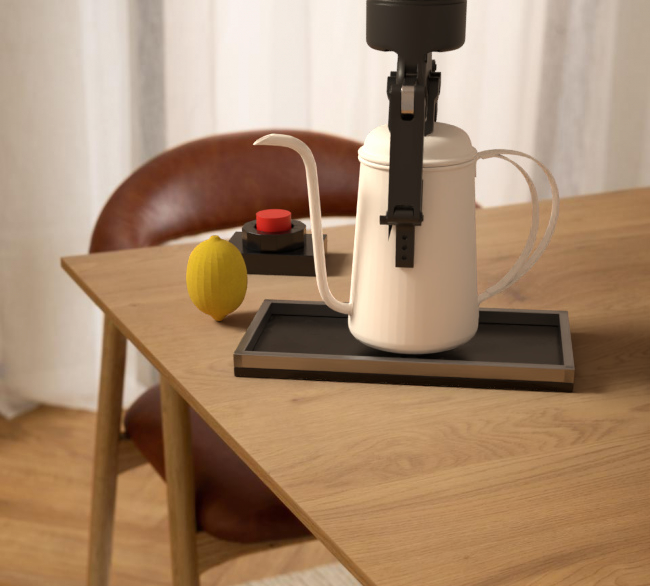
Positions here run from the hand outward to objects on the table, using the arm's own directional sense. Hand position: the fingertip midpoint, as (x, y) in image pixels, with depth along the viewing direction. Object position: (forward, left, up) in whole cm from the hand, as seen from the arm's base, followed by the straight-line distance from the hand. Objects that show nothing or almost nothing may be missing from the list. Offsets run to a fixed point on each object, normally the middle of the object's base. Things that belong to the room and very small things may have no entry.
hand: (409, 285), depth 98 cm
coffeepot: (0, +1, -4) cm, 4 cm away
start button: (+16, -24, -2) cm, 29 cm away
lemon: (+18, -6, -6) cm, 20 cm away
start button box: (+16, -24, -6) cm, 29 cm away
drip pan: (0, 0, -6) cm, 6 cm away
